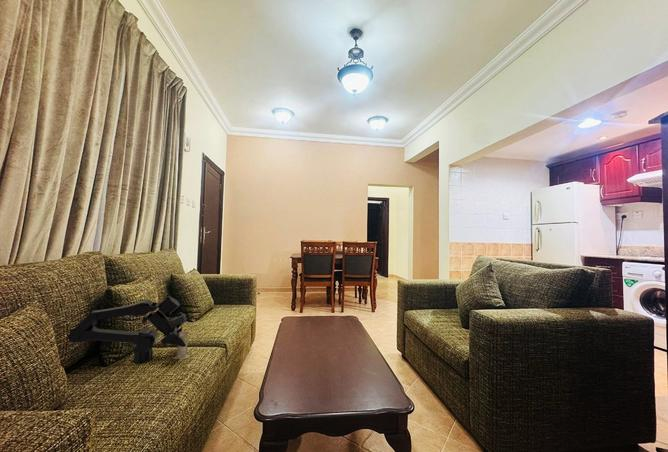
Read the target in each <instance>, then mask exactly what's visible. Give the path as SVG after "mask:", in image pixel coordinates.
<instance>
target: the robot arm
mask: <svg viewBox="0 0 668 452" xmlns="http://www.w3.org/2000/svg"><path fill="white" fill-rule="evenodd" d="M180 306H181V305H180V302H179V301H178V300H177V299H175V298H174V297H172V296H171V295H168V296H166V298H165V299H163V301H161V302H157V301H155V302H154V301H152V300H150V299H144V300H141V301H138V302H135V303H133V304H129V305H123V306H118V307H112V308H107V309H105V308H104V309H95V310H93V311H91V312H89V313H88V314H87V316H86V317H85V318H84V319H82V320H81V321H80V323H78V324H77V325H76V326H75V327H73V328H70V334H69V335H68V339H69V341H68V342H70V343H72V344H73V343H84V342H89V341H103V342H105V341H106V342H115V343H116V342H118V343H128V344H133V345H135V346H134V347H133V348H132V350H133V363H135V364H138V365H139V364H144V363H147V362H149V361H150V360H151V359H152V358H153V353H154V350H153V346H154V344H155V343H156V342H157V340H158V338H159V333H158V331H159V332H160V333H161V334H162V338H161V340H160V344H161V345H162V346H164V347H166V345H173V346H176V347H178V346H181V347H185V346H186V344H185V343H184V342H183V340H182V339H181V338H180V337H179V333H180V332H182V331H183V325H184V323H186V322H187V320H188V319H187V314H185V313H183V312H181V311H180V312H178V313H177V314H176V316H174V317H173V318H172V317H167V316H166V315H169V316H170V315H171V314H172V313H173V312H175V310H176V309H178V308H179V307H180ZM125 316H134V317H137V316H138V317H139V316H140V317H142V316H143V317H142V324H145V323H146V322H149V323H150V324H152V326H154V327H155V328H156V329H155V330H154V329H153V328H146V327H142V328H141V329H140V330H139V331H128V330H117V329H106V328H105V329H104V328H98V327H96V326H95V324H96V323H97V322H98V321H102V320H108V319H113V318H119V317H120V318H121V317H125ZM187 343H189V341H187Z"/></svg>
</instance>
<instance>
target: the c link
mask: <svg viewBox="0 0 668 452" xmlns="http://www.w3.org/2000/svg"><path fill="white" fill-rule="evenodd" d="M179 337H180V338H181V339H182V340H183V342H184V343H185V344H186V346H185V347H181V346H176V347H177V349H176V350H177V351H176V356H177V359H176V360H180V359H183V358H185V355H188V354H187V352H188V342H189V341H188V340H189V338H188V337H189V330H187V331H184V330H182V332H180V333H179ZM187 341H188V342H187ZM185 359H186V358H185ZM183 360H184V359H183Z"/></svg>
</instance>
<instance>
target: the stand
mask: <svg viewBox="0 0 668 452" xmlns="http://www.w3.org/2000/svg"><path fill="white" fill-rule="evenodd" d="M188 357H191V355H188V354H187V355H185V358H183V359H179V360H181V361H182V360H184V359H187V358H188ZM173 359H175V360H178V359H177V355H176V356H175V357H173Z"/></svg>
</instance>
